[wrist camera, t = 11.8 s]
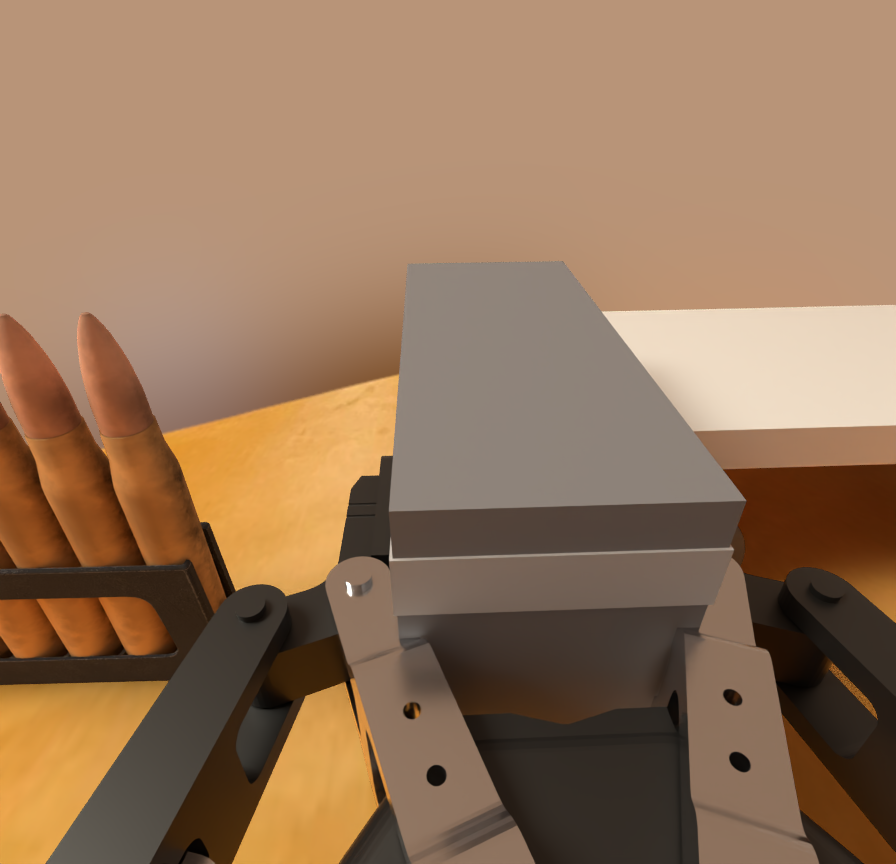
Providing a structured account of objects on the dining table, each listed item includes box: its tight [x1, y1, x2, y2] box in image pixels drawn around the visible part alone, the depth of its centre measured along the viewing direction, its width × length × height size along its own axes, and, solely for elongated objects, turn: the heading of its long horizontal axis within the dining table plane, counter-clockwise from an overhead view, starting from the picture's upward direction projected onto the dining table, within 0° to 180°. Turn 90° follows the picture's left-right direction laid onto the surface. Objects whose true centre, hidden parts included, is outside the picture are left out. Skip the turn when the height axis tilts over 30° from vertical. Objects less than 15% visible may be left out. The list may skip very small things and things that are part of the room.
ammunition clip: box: [0, 312, 236, 685], centre depth 15 cm, size 11×2×12 cm, turn 91°
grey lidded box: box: [389, 261, 746, 724], centre depth 15 cm, size 5×12×10 cm, turn 2°
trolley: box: [602, 305, 896, 566], centre depth 20 cm, size 20×12×20 cm, turn 92°
